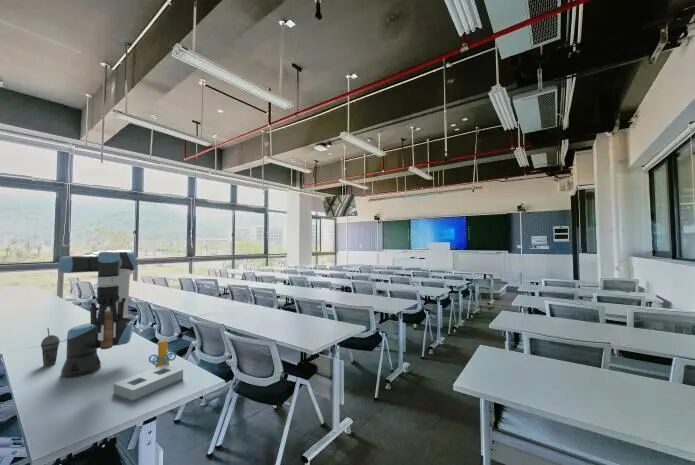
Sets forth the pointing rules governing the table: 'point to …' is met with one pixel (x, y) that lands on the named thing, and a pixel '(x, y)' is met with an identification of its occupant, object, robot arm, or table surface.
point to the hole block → (147, 383)
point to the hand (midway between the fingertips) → (106, 338)
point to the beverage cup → (50, 349)
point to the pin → (107, 330)
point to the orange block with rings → (162, 355)
